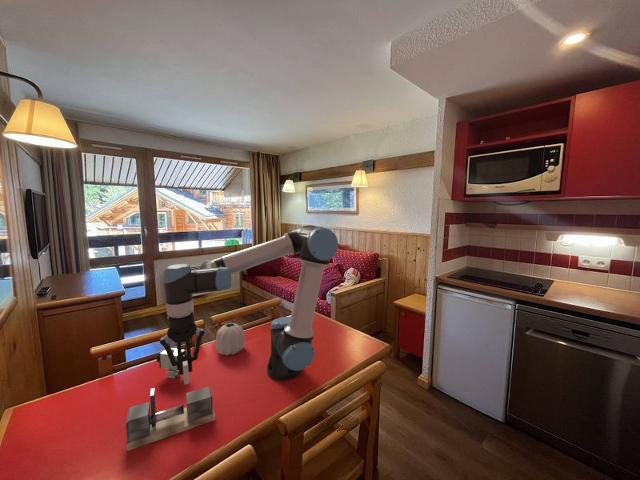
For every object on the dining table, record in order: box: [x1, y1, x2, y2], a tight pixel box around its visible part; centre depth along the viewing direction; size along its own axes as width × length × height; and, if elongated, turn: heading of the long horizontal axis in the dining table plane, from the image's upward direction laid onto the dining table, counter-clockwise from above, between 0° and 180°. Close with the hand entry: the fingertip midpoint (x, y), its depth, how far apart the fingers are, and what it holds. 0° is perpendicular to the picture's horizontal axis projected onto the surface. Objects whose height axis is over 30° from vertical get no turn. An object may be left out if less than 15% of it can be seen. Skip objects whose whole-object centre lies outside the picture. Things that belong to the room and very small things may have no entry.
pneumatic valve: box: [156, 347, 187, 380], centre depth 110 cm, size 6×12×12 cm, turn 78°
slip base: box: [125, 385, 216, 452], centre depth 86 cm, size 24×9×8 cm, turn 120°
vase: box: [215, 322, 246, 356], centre depth 130 cm, size 14×14×13 cm
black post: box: [149, 387, 185, 428], centre depth 83 cm, size 14×5×11 cm, turn 120°
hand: (186, 381), depth 87 cm, fingers closed
